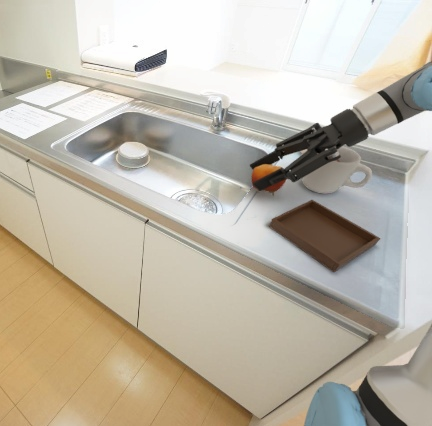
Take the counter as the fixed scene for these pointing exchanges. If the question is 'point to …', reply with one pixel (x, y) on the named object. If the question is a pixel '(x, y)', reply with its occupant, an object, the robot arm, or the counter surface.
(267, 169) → the fruit
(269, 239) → the counter surface
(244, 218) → the counter surface
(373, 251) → the counter surface
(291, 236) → the tray
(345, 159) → the cup
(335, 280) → the counter surface
